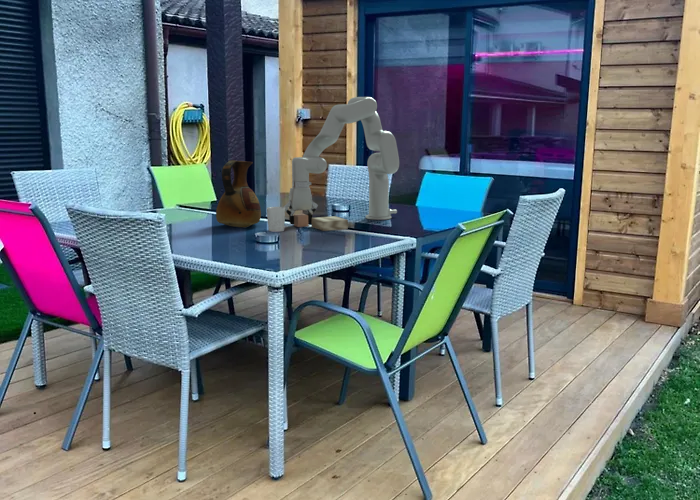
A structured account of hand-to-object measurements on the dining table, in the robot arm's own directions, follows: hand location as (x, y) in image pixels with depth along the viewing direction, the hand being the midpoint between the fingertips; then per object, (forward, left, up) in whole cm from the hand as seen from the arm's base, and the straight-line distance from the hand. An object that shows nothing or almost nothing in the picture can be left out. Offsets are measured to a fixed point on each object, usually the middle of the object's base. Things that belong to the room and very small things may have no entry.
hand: (300, 223), depth 306 cm
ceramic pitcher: (+26, -10, -1) cm, 28 cm away
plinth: (-9, +11, -1) cm, 14 cm away
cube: (0, 0, -1) cm, 1 cm away
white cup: (+15, +7, -1) cm, 17 cm away
